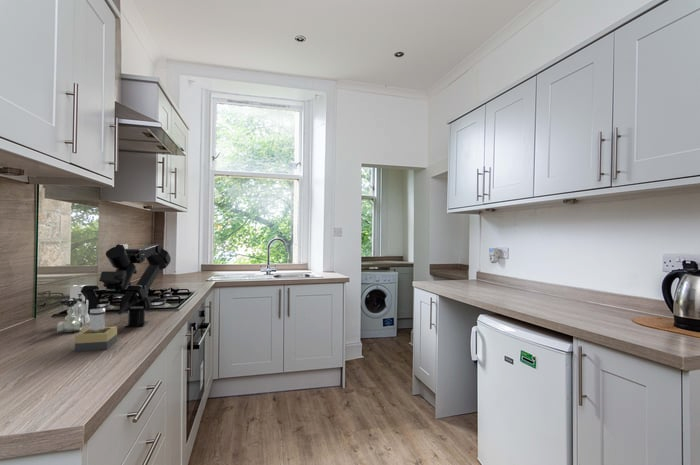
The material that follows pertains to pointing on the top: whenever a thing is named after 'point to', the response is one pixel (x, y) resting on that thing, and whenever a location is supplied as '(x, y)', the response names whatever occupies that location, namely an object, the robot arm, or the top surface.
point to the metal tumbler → (97, 320)
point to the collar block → (95, 339)
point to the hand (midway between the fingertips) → (104, 313)
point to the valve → (70, 317)
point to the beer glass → (80, 304)
